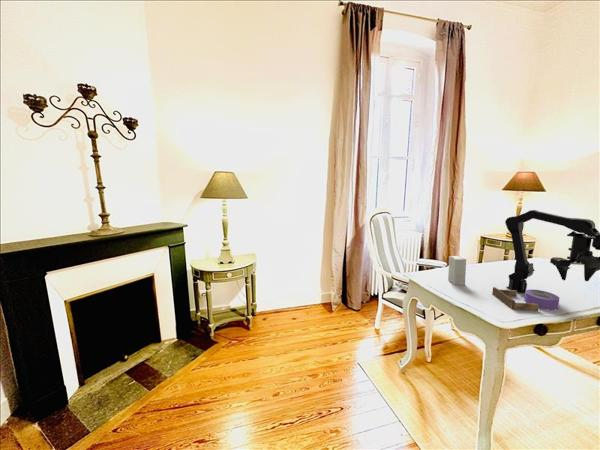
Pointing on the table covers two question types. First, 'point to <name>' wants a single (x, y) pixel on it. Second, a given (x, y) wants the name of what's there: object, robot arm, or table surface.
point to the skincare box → (457, 270)
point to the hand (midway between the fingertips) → (574, 280)
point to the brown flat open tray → (504, 297)
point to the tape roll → (542, 299)
